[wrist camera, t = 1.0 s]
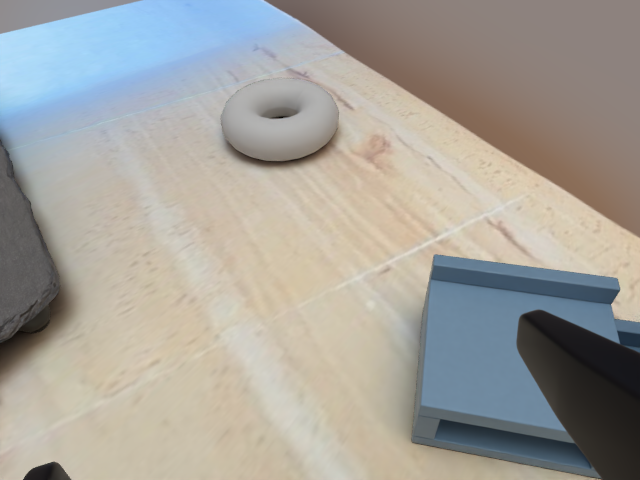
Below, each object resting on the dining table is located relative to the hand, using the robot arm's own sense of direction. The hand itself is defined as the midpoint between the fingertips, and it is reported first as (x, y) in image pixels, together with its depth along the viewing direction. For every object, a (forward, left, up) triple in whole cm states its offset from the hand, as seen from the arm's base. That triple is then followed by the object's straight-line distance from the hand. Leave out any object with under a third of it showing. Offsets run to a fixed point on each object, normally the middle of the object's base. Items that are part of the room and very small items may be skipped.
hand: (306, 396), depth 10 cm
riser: (0, -15, -16) cm, 22 cm away
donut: (+30, -13, -16) cm, 37 cm away
